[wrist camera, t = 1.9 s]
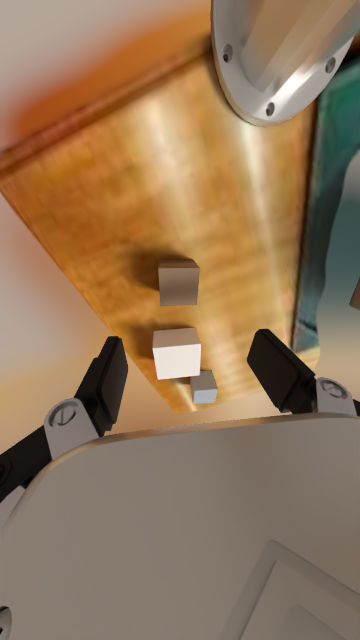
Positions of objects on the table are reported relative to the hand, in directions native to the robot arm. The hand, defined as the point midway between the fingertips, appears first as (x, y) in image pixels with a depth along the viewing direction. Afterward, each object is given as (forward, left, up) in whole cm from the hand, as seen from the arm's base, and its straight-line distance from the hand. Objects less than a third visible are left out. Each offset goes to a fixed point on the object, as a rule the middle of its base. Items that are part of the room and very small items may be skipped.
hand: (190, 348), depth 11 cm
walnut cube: (0, 0, -16) cm, 16 cm away
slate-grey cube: (+25, +6, -16) cm, 30 cm away
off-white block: (+14, 0, -16) cm, 21 cm away
